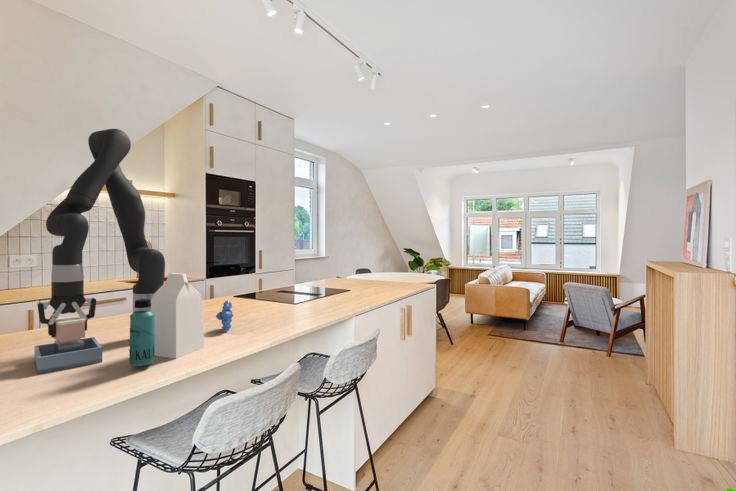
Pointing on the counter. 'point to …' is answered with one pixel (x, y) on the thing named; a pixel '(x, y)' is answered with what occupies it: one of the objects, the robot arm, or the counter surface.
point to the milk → (177, 318)
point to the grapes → (225, 315)
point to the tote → (66, 356)
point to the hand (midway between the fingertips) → (68, 334)
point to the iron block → (68, 346)
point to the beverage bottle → (142, 334)
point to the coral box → (69, 328)
